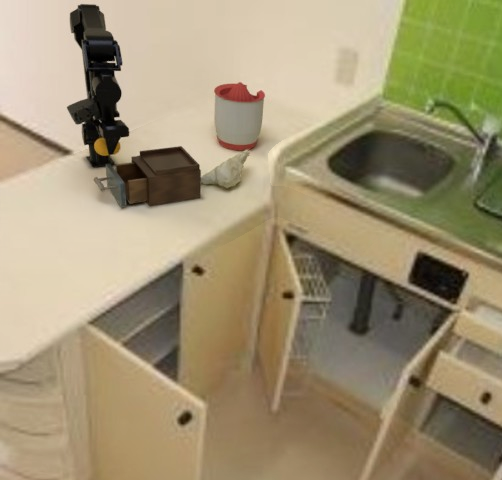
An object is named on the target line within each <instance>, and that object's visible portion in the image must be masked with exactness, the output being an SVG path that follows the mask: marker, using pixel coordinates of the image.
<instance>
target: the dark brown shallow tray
mask: <svg viewBox="0 0 502 480" xmlns="http://www.w3.org/2000/svg"><path fill="white" fill-rule="evenodd" d="M139 156H140V157H141V158H142V159H143V160H144V162H145V163H146V164H147V165H148V166H149V168H150V169H151V170H152V171H153V172H154V173H155V175H156V176H160V175H167V174H174V173H181V172H188V171H195V170H199V169H200V164H199V162H198V161H196V160H195V158H193V156H192V155H191V154H190V153H189V152H188V151H187V150H186V149H185V148H184V147H183V146H182V145H178V146H171V147H162V148H154V149H145V150H139Z"/></svg>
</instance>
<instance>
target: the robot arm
mask: <svg viewBox="0 0 502 480" xmlns="http://www.w3.org/2000/svg"><path fill="white" fill-rule="evenodd" d="M69 27H70V33H71V34H73V37H74V38H73V39H74V41H75V43H76V44H77V46H78V47H79V48H80V50H81V55H82V65H83V72H84V73H83V74H84V82H85V91H86V98H84V99H81V100H78V101H76V102H74V103H70V104H69V105H67V106H66V110H67V111H68V113H69V116H70V117H71V119H72V121H73V122H74V124H75V125H81V138H82V142H83V145H84V146H88V155H87V156H85V159H86V160H87V162H88V163H89V165H90V167H92V168H99V167H106V164H111V166H113V165H116V163H115V161H114V159H113V158H112V157H111V156H113V155H112V154H113V153H114V151H115V149H116V146H117V144H118V142H119V143H120V141H121V138H128V137H130V128H129V126H128V125H127V124H126V123H125V122H124V121H123V120H121V119H116V118H121V117H120V111H118V105H117V103H119V101H120V100H121V98H122V88H121V86H120V84H119V83H118V79H117V77H116V76H115V75H116V74H115V72H121V71H122V66H123V59H122V58H123V57H122V51H121V47H120V45H119V42H118V41H117V40H115V38H114V36H113V34H112V32H111V31H109V30H107V26H106V19H105V14H104V13H103V12H102V11H101V10H100V6H99V5H97V4H94V3H93V4H92V3H91V4H90V3H81V4H77V8H76V9H74V10H72V11H70V12H69ZM99 138H104V140H105V144H106V148H107V151H108V154H109V155H106V156H103V155H100V154H98V153H97V152H96V151H95V148H94V144H95V142H96V140H97V139H99Z"/></svg>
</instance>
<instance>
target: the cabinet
mask: <svg viewBox="0 0 502 480" xmlns="http://www.w3.org/2000/svg"><path fill="white" fill-rule="evenodd" d="M131 162H134V163H135V164H136V165H137V166H138V167H139V169H140V170H141V171H142V172H143V174H144V175H145V176H146V177H147V178H148V196H149V201H145V203H146V204H147V206H149V207H156V206H162V205H167V204H174V203H181V202H186V201H187V202H188V201H193V200H199V199H201V191H202V190H201V189H202V187H201V185H202V183H201V177H202V170H201V169H200V168H199V170H195V171H188V172H181V173H174V174H167V175H160V176H156V175H155V173H154V172H153V171H152V170H151V169H150V168H149V166H148V165H147V164H146V163H145V162H144V160H143V159H142V158H141V157H140V155H136V156H131Z"/></svg>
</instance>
